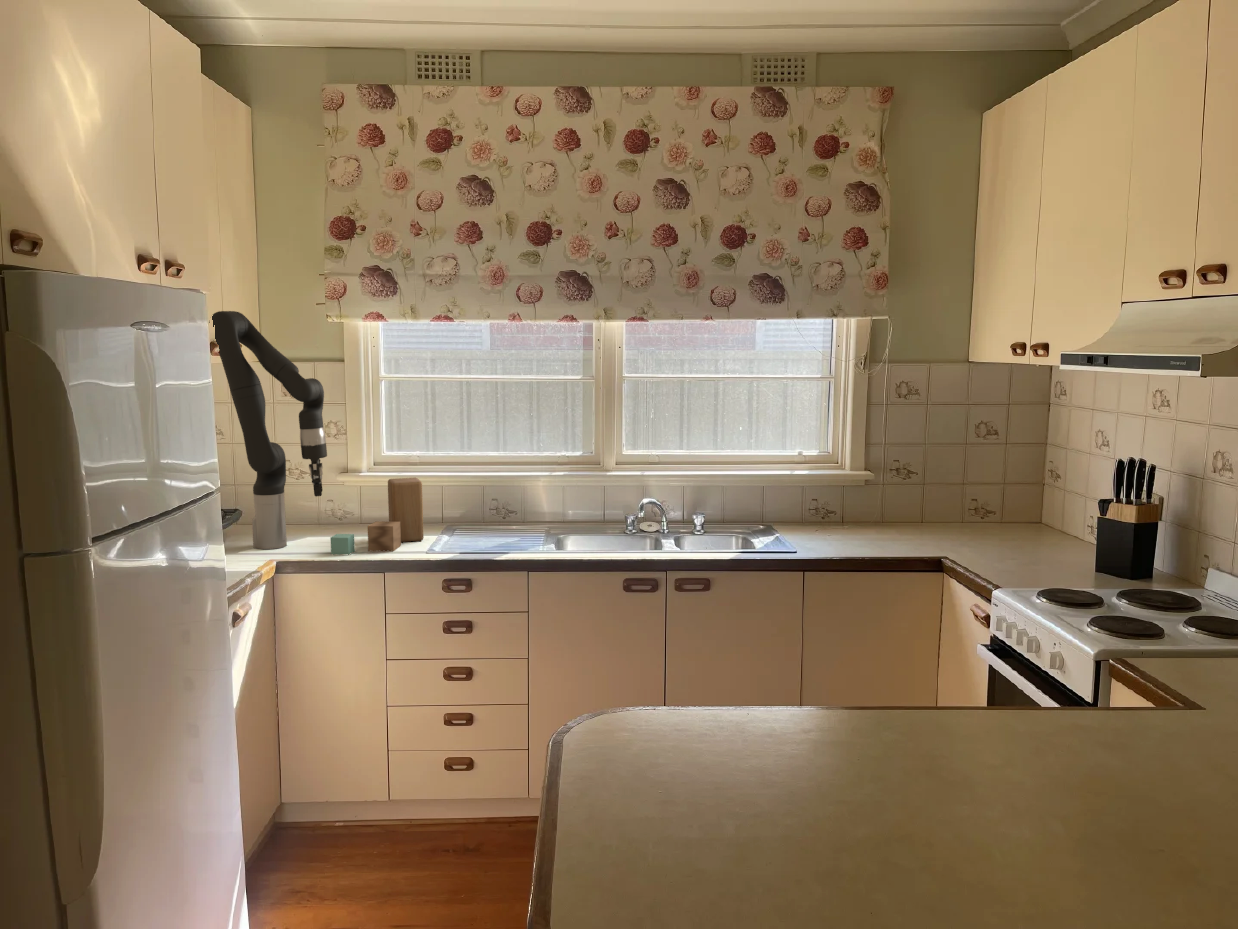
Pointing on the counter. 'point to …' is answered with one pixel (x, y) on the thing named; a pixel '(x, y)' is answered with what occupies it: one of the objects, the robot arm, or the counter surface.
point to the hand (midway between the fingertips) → (318, 494)
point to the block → (406, 507)
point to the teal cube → (342, 544)
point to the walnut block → (384, 536)
